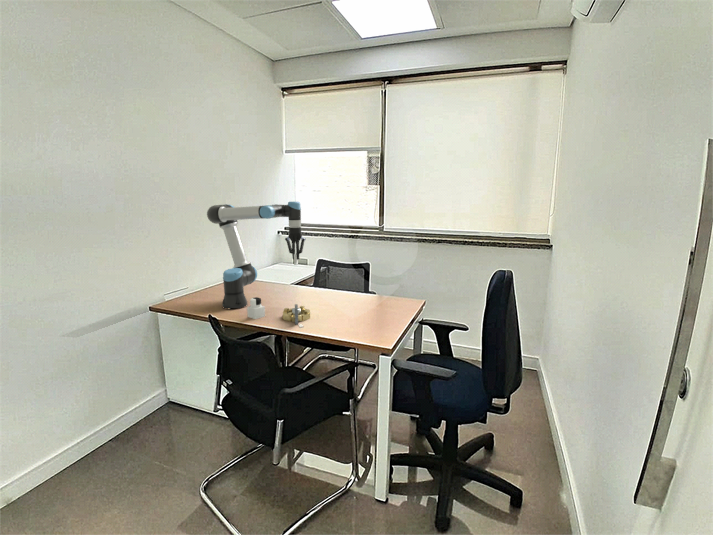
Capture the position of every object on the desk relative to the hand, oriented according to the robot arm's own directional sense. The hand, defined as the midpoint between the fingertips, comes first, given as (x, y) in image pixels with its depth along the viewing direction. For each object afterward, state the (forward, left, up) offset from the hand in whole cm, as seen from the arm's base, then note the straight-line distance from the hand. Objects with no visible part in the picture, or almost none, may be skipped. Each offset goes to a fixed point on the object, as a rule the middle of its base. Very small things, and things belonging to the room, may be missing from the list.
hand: (296, 264), depth 235 cm
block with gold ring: (+10, -29, -25) cm, 40 cm away
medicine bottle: (-14, -30, -27) cm, 42 cm away
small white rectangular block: (+16, -41, -26) cm, 51 cm away
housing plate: (+9, -27, -26) cm, 39 cm away
